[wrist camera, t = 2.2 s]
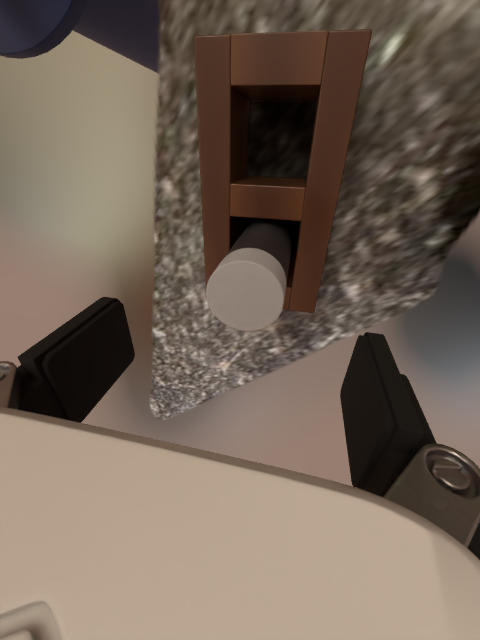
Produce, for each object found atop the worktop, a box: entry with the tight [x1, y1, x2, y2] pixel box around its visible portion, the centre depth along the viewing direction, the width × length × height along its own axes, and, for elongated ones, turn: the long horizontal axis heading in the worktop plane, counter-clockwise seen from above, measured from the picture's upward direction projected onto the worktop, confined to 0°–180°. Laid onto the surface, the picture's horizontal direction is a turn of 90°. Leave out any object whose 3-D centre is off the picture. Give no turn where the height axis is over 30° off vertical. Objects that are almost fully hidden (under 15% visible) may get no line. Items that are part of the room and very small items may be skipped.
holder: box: [194, 29, 372, 313], centre depth 20 cm, size 9×16×6 cm, turn 178°
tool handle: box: [206, 218, 294, 331], centre depth 19 cm, size 4×4×13 cm
